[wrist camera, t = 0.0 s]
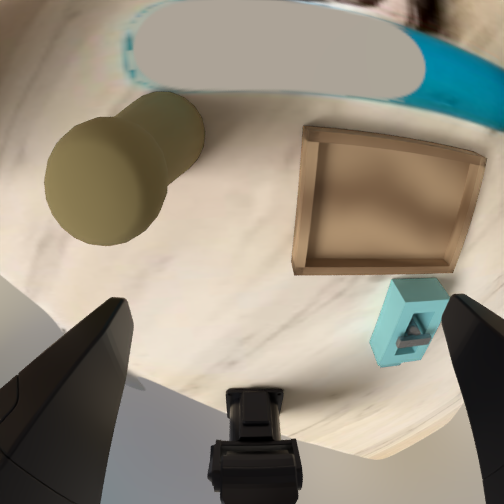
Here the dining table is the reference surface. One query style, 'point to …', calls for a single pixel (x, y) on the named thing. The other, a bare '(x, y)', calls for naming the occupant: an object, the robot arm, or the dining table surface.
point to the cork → (122, 168)
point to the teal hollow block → (407, 318)
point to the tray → (381, 204)
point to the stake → (413, 337)
